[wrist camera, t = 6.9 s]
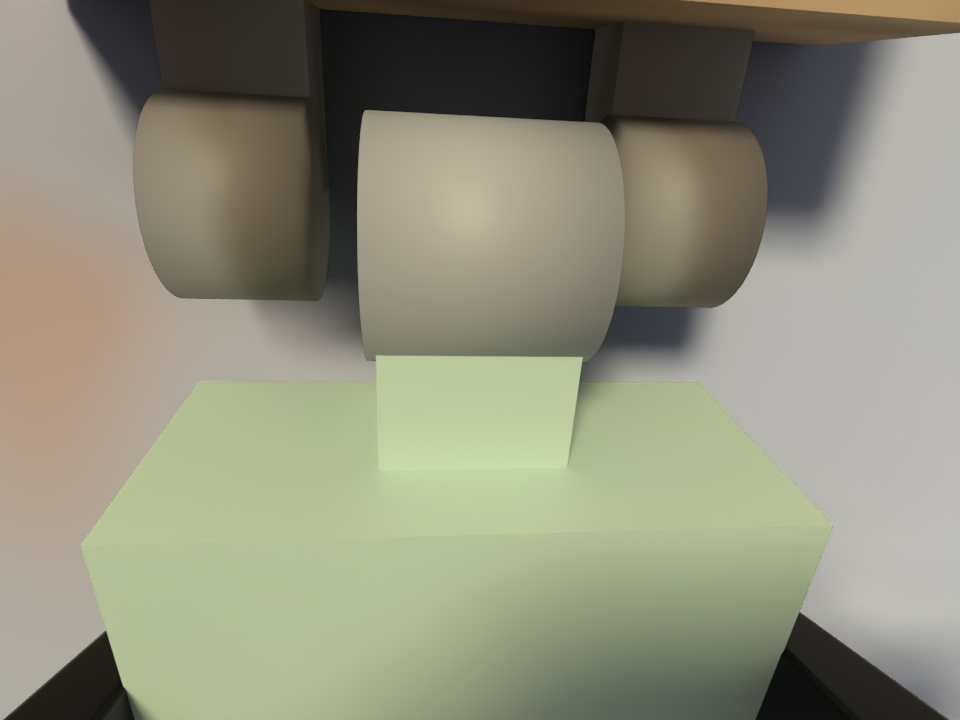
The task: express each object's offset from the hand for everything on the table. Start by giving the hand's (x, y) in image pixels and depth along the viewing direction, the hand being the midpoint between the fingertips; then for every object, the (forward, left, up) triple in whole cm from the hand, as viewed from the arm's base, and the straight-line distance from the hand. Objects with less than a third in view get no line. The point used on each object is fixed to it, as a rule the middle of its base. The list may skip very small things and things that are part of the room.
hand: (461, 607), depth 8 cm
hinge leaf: (0, -2, -1) cm, 2 cm away
